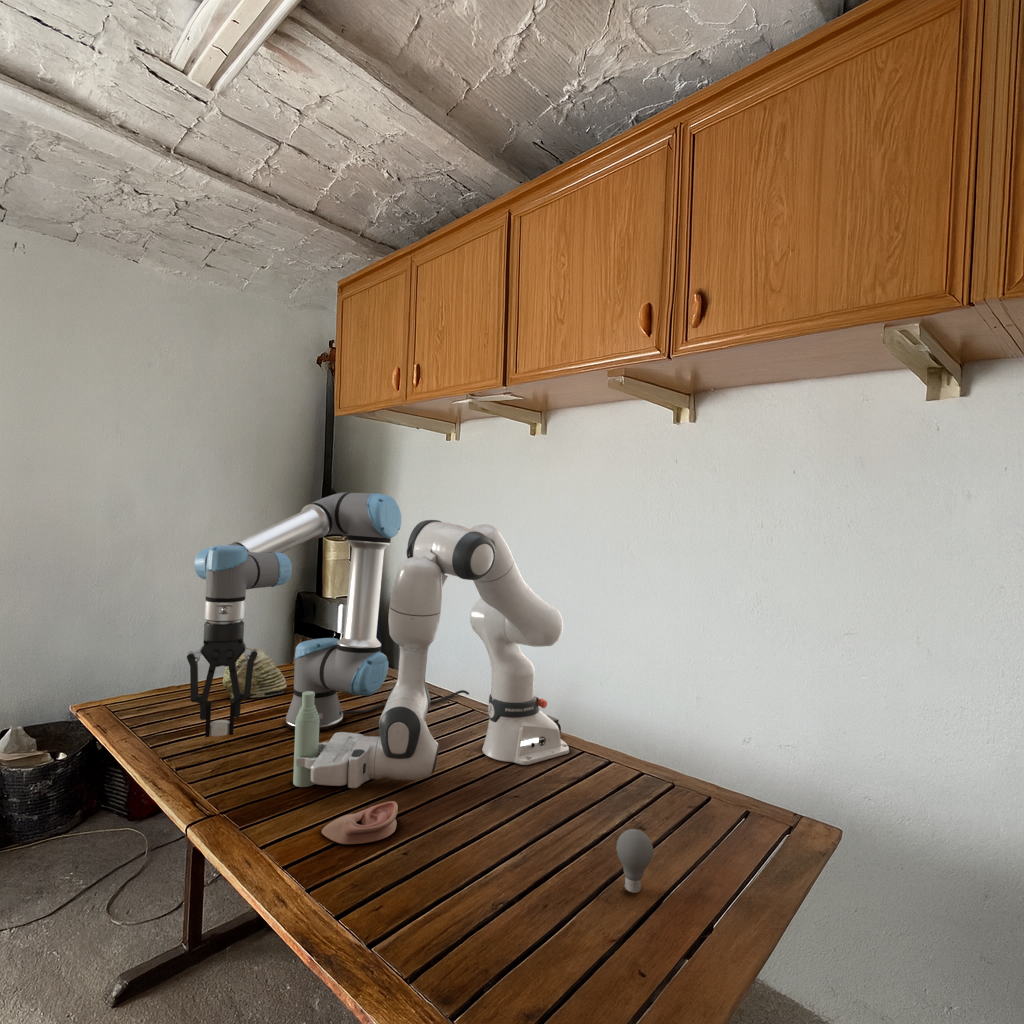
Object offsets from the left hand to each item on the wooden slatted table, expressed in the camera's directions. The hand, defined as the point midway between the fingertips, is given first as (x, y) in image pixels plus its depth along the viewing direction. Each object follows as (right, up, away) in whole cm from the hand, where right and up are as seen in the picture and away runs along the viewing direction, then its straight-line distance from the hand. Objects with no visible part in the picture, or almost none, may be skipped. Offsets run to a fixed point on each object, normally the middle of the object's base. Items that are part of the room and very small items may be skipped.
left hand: (219, 733), depth 131 cm
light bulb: (+81, -18, -25) cm, 86 cm away
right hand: (+14, -8, +9) cm, 19 cm away
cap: (0, +2, 0) cm, 2 cm away
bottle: (+15, -14, +10) cm, 22 cm away
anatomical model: (+31, -15, -10) cm, 36 cm away
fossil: (-20, -12, +67) cm, 71 cm away
